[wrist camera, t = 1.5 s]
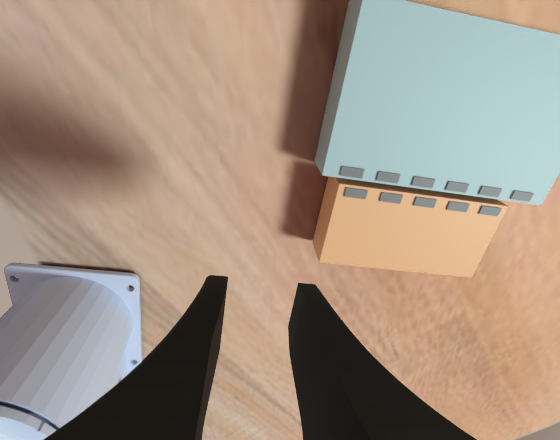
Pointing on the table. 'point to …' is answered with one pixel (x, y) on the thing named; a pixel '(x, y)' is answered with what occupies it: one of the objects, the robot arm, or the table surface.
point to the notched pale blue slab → (443, 103)
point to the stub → (404, 228)
